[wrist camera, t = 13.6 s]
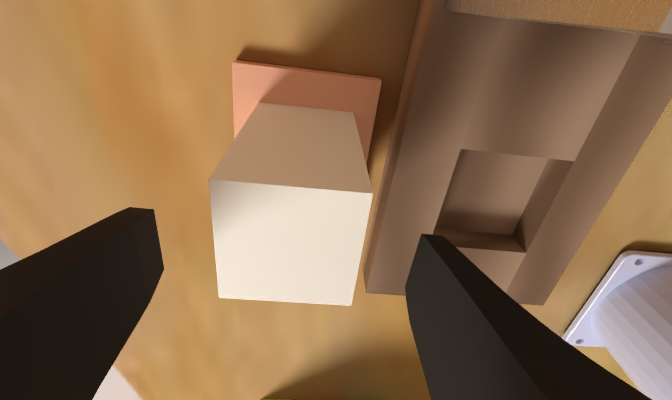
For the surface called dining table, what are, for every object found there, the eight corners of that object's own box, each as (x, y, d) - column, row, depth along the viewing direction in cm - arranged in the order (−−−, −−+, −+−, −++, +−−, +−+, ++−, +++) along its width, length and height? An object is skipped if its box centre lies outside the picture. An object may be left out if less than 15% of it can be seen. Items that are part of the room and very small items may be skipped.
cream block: (353, 112, 14) (372, 193, 8) (341, 193, 16) (351, 305, 10) (258, 102, 14) (208, 179, 8) (258, 186, 16) (218, 297, 10)
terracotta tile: (379, 77, 14) (381, 81, 14) (354, 215, 18) (355, 222, 17) (235, 59, 14) (231, 62, 13) (239, 205, 17) (236, 211, 17)
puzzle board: (786, -196, 11) (876, -235, 9) (525, 279, 21) (543, 305, 19) (477, -265, 10) (510, -321, 8) (362, 267, 20) (366, 293, 18)
